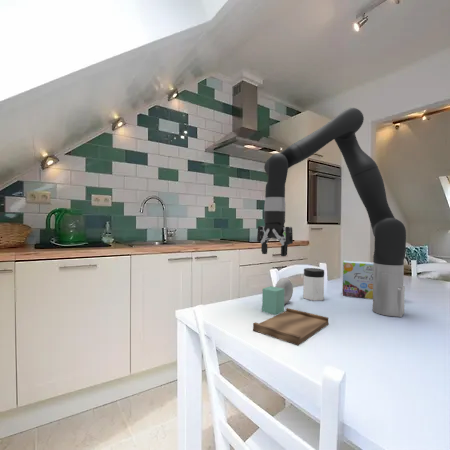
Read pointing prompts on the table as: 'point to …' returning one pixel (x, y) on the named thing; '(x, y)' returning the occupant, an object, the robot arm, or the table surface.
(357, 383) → the table surface
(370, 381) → the table surface
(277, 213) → the robot arm
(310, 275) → the jar
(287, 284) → the donut
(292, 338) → the board
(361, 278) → the snack box
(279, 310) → the block
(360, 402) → the table surface
